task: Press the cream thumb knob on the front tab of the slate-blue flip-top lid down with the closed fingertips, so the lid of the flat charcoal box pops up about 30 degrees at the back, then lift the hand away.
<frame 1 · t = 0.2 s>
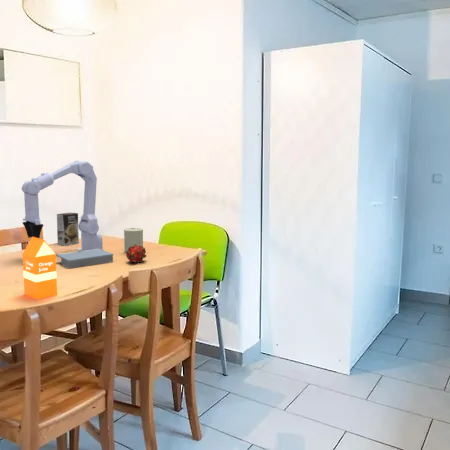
hand: (33, 238, 219), 10 cm above the table, tool pointing down, fingers open, 7 cm apart
coffee box: (68, 244, 258), on the table
carton: (87, 263, 217), on the table
orange juice: (41, 294, 172), on the table
can: (133, 253, 239), on the table
lid: (84, 252, 218), point 4 cm above the table, hinge at 0.0°
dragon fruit: (136, 262, 220), on the table
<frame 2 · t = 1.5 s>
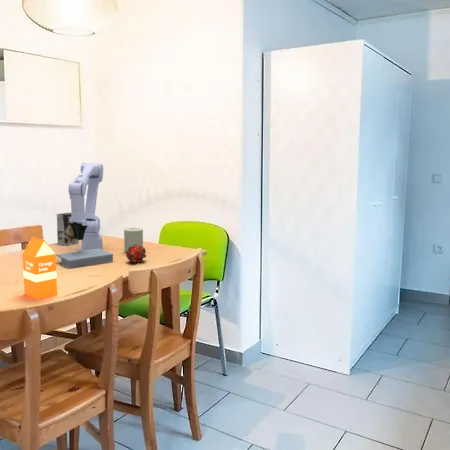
hand: (79, 239, 222), 9 cm above the table, tool pointing down, fingers open, 3 cm apart
nothing on the table moved.
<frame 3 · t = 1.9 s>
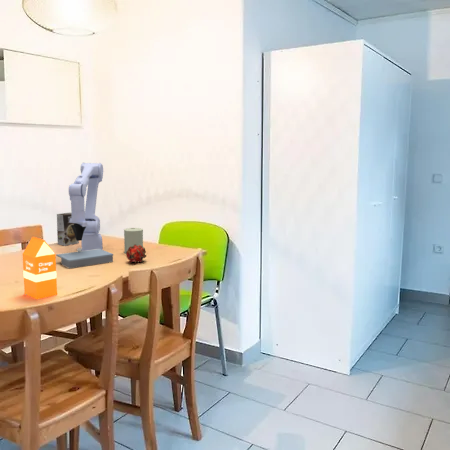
hand: (79, 240, 222), 9 cm above the table, tool pointing down, fingers closed
nothing on the table moved.
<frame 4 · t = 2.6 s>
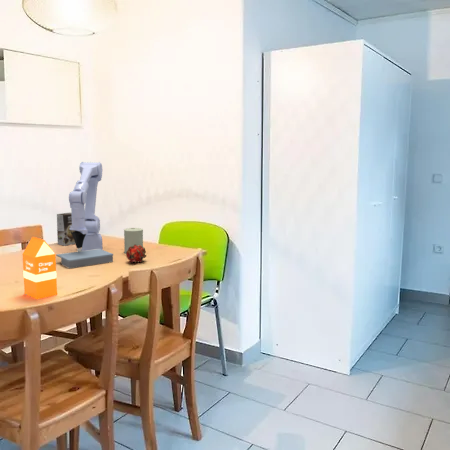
hand: (79, 247, 222), 6 cm above the table, tool pointing down, fingers closed, pressing on lid
lid: (84, 252, 218), point 4 cm above the table, hinge at 0.0°, touching gripper
everything else where it was.
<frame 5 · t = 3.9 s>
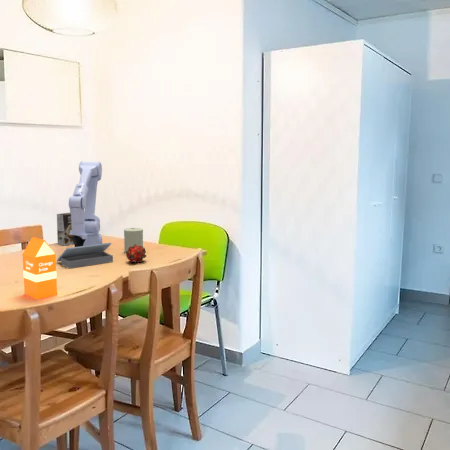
hand: (79, 252, 223), 3 cm above the table, tool pointing down, fingers closed, pressing on lid
lid: (83, 249, 219), point 5 cm above the table, hinge at 32.6°, touching gripper
everything else where it was.
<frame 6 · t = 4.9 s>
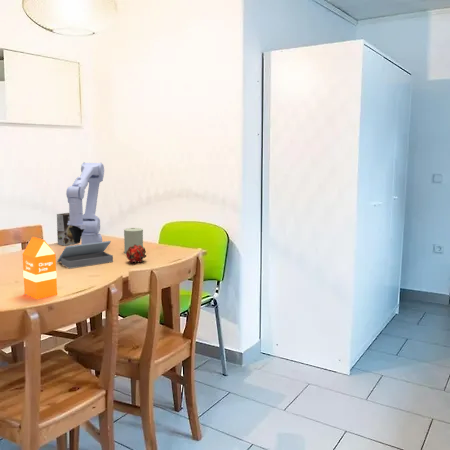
hand: (77, 242, 222), 8 cm above the table, tool pointing down, fingers closed
lid: (83, 249, 219), point 6 cm above the table, hinge at 38.0°
everything else where it was.
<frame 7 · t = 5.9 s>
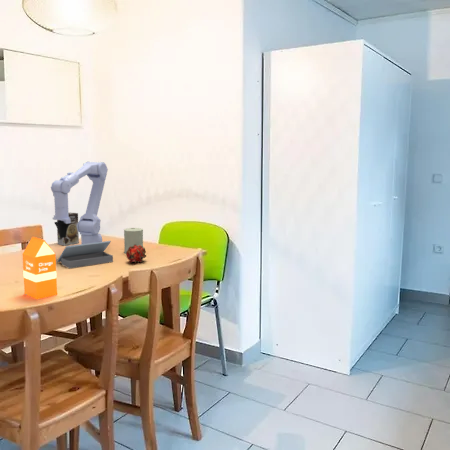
hand: (62, 237, 220), 10 cm above the table, tool pointing down, fingers closed
nothing on the table moved.
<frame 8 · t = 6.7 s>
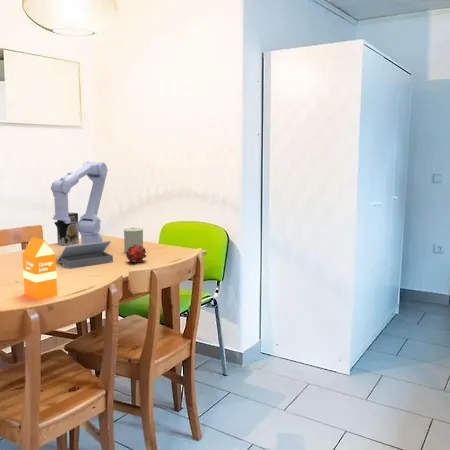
hand: (62, 237, 220), 10 cm above the table, tool pointing down, fingers closed
nothing on the table moved.
at the end: lid at +38° (first picture: +0°); the gripper is holding nothing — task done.
